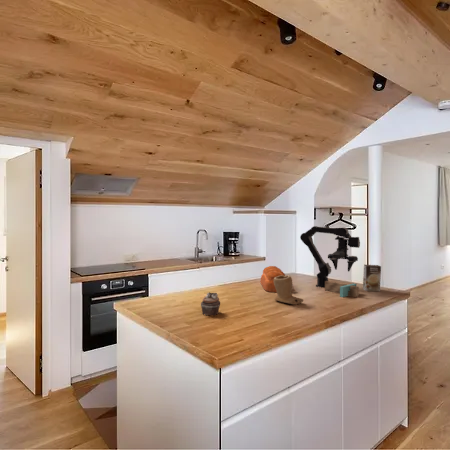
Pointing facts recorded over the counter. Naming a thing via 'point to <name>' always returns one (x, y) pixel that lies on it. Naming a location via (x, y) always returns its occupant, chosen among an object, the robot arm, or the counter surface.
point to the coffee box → (372, 278)
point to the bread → (270, 278)
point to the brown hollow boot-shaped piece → (285, 290)
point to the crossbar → (345, 290)
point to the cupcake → (210, 304)
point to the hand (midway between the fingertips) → (342, 270)
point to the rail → (336, 288)
